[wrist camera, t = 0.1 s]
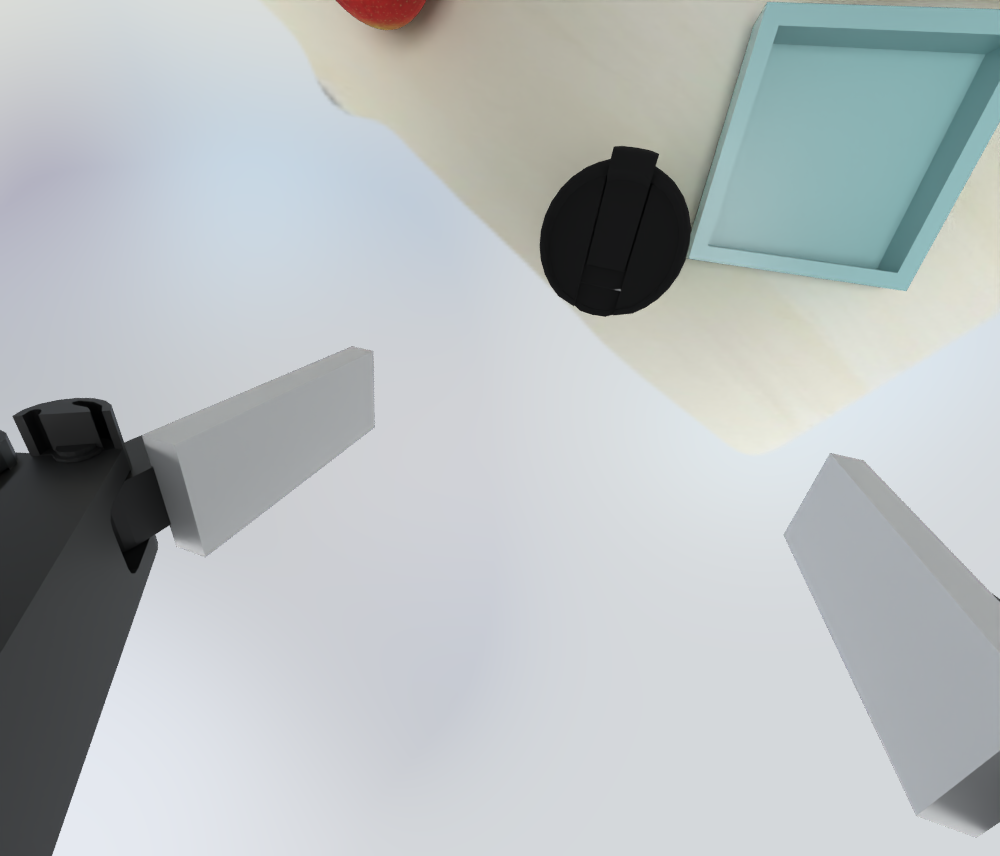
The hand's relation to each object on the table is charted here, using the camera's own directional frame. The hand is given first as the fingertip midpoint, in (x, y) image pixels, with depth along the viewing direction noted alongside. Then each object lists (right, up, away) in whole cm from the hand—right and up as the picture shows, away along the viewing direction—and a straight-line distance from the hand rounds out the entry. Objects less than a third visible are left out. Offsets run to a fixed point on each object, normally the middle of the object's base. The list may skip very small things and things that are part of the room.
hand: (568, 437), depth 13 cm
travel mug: (+8, +16, +22) cm, 29 cm away
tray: (+20, +19, +17) cm, 32 cm away
